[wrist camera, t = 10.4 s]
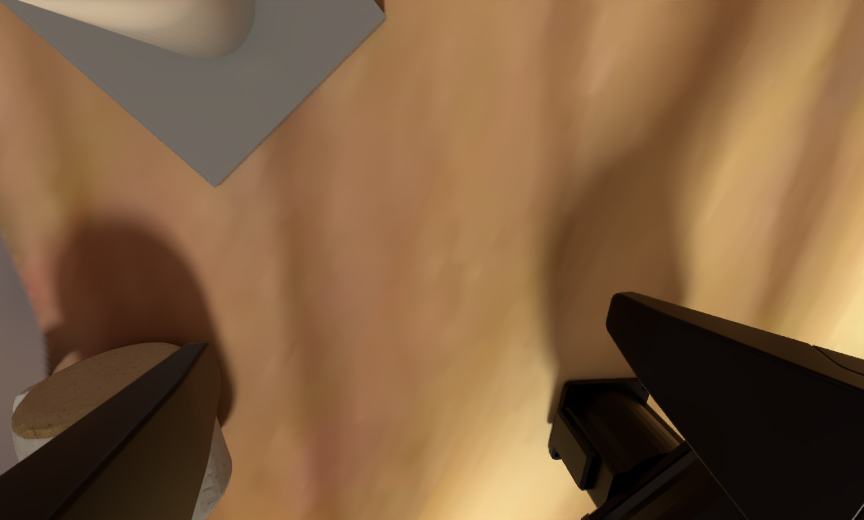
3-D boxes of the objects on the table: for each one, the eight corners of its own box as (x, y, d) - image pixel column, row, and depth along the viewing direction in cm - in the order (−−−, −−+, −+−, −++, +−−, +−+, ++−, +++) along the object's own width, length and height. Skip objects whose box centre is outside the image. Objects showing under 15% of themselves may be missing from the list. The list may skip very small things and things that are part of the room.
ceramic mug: (213, 323, 21) (139, 419, 14) (250, 435, 24) (202, 561, 17) (7, 352, 20) (-180, 473, 13) (70, 467, 23) (-58, 615, 16)
